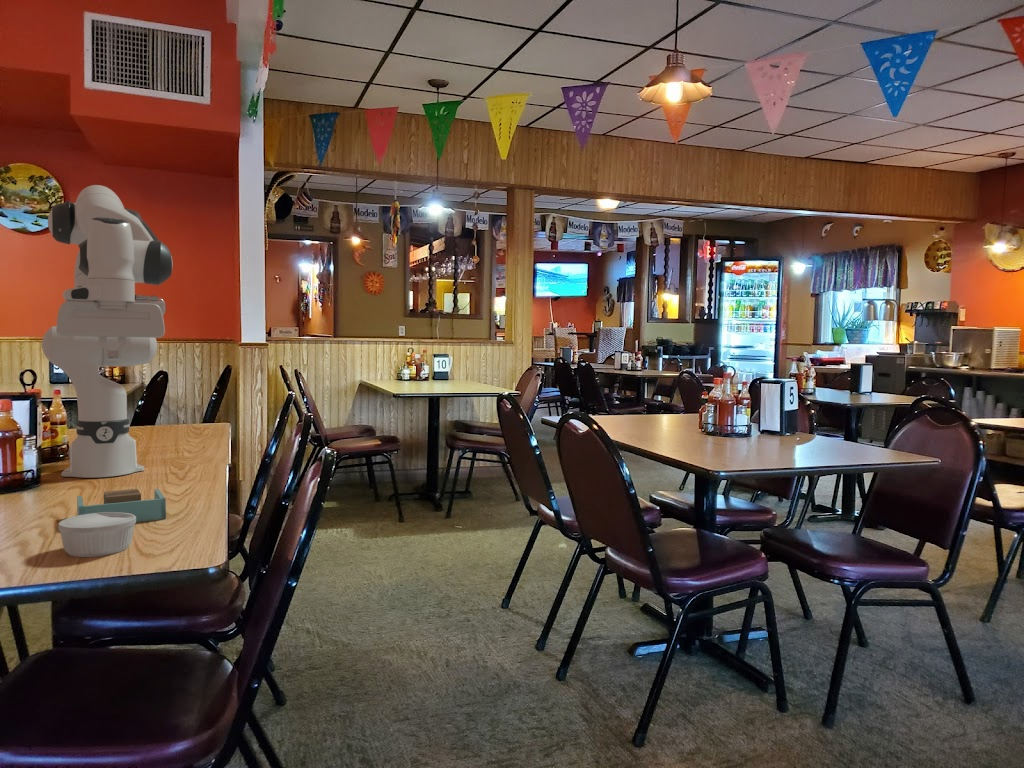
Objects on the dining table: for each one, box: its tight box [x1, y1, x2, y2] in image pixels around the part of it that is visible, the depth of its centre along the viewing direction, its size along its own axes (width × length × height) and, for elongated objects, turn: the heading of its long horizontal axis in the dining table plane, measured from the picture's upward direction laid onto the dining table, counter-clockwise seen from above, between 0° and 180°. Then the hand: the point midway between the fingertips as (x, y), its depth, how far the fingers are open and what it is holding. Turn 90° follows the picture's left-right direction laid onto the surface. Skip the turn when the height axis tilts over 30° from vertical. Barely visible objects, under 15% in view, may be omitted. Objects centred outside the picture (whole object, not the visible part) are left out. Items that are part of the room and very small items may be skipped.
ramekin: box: [57, 512, 137, 558], centre depth 119 cm, size 11×11×5 cm
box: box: [76, 488, 167, 523], centre depth 140 cm, size 11×15×4 cm
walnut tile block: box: [103, 488, 142, 504], centre depth 141 cm, size 6×6×5 cm
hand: (112, 358), depth 152 cm, fingers closed
